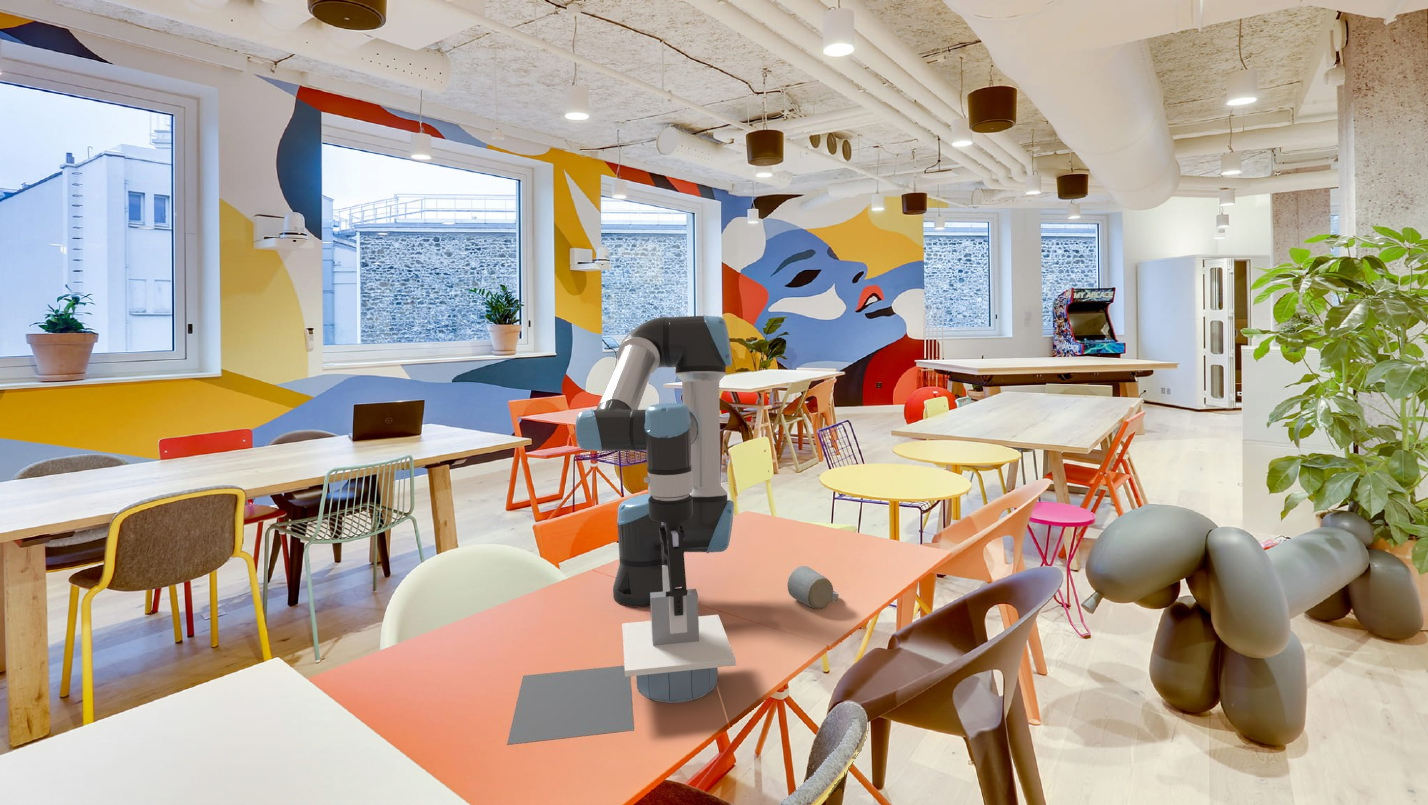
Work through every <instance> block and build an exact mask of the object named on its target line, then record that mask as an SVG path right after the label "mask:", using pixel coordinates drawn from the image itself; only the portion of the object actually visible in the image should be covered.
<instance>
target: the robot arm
mask: <svg viewBox="0 0 1428 805" xmlns="http://www.w3.org/2000/svg"><path fill="white" fill-rule="evenodd" d="M732 356H733V355H732V349H731V342H730V336H729V331H728V325H727V323H726V321H725V319H724V318H723V317H721V316H715V315H694V316H691V315H690V316H670V317H669V316H664V317H663V316H662V317H656V318H653V319H649V320H647V321H645V322H643V323H641V324H639V325H638V326H637V327H635V328H634V329H632V330H631V331H630V332H629V333H627V335H626V336H625V337H624V339H623V340H622V341H621V342H620V345H619V347H618V349H617V363H616V365H615V368H614V370H613V371H612V375H611V376H610V378H609V381H608V382H607V385H606V387H605V389H604V392H603V394H602V395H601V399H600V400H599V402H598V405H597V406H596V409H592V408H590V409H589V410H588V409H586V410H582V411H580V412H579V413H578V414H577V416H576V419H575V425H574V426H575V428H574V431H575V439H576V442H577V445H578V447H579V448H580V449H581V450H583V451H591V452H592V451H595V452H600V453H601V452H608V451H609V452H615V451H616V452H619V451H620V452H621V451H626V452H627V451H646V466H647V467H646V468H647V476H646V477H644V478H643V482H644V483H645V484H647V490H648V493H645V494H639V495H634V496H632V497H630V498H627V499H625V500H623V501H621V503H619V506H618V508H617V521H616V524H617V535H618V536H617V537H618V538H617V540H618V554H619V555H618V556H619V557H618V558H619V564H618V565H619V566H618V569H617V572H616V577H615V580H614V583H613V586H612V594H613V599H614V601H615V602H616V603H618V604H621V605H623V606H626V607H636V608H646V607H647V608H649V607H651V602H650V593H653V592H664V591H669V592H666V597H669V612H670V633H671V634H674V633H685V632H687V614H686V596H687V593H688V591H687V590H688V588H687V576H686V564H685V553H706V554H709V553H722V552H725V551H726V550H727V549H728V547H729V545H730V541H731V536H732V531H733V530H732V529H733V521H734V511H735V509H734V507H735V502H734V501H733V500H731V499H729V500H728V491H727V490H726V489H725V488H724V487H723V486H722V485H721V483H722V482H721V479H722V478H721V475H722V474H721V422H720V421H721V420H720V419H721V411H720V407H721V406H720V383H721V380H722V379H723V378H724V377H725V376H726V374H727V369H726V368H729V367H731V366H732V365H733V359H732ZM658 368H675V376H676V377H677V378H678V379H679V380H680V381H681V383H682V386H681V387H682V390H681V392H682V395H681V396H682V401H681V402H682V403H676V402H669V403H667V402H666V403H656V404H652V405H649V406H647V407H646V409H639V407H640V405H641V401H642V399H643V396H644V394H645V391H646V387H647V385H648V383H649V380H650V377H651V374H653V373H654V372H655V371H656V370H657V369H658Z"/></svg>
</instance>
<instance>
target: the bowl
mask: <svg viewBox="0 0 1428 805" xmlns="http://www.w3.org/2000/svg"><path fill="white" fill-rule="evenodd" d="M718 668H719V667H716V668H706V669H696V670H686V671H677V672H667V673H657V674H647V675H638V676H635V680H636V689H637V690H638V692H639V693H640V694H641V695H642V696H644V697H645V698H647V699H649V700H651V701H654V702H655V701H656V702H659V703H660V702H661V703H667V704H669V703H670V704H673V703H674V704H675V703H676V704H677V703H687V702H690V701H694V700H698V699H699V698H703V697H705V696H706V695H708V694H709V693H711V691H713V690H714V688H715V687H717V685H718V680H719V676H718V675H719V671H718Z"/></svg>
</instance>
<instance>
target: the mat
mask: <svg viewBox="0 0 1428 805" xmlns="http://www.w3.org/2000/svg"><path fill="white" fill-rule="evenodd" d="M631 680H632V679H631V676H628V677H625V667H624V665H615V666H606V667H605V666H604V667H596V668H594V667H593V668H584V669H576V670H575V669H574V670H566V671H556V672H546V673H536V674H526V675H525V674H524V675H522V679H521V683H520V687H519V691H518V696H517V701H516V704H515V709H514V712H513V716H512V722H511V725H510V731H509V734H508V735H509V736H508V739H507V743H506V746H508V745H517V744H526V743H535V742H543V741H553V740H562V739H569V738H570V739H571V738H579V737H588V736H597V735H605V734H614V733H622V732H631V731H632V732H633V731H635V724H634V723H635V722H634V710H633V696H632V683H631Z"/></svg>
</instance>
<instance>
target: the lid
mask: <svg viewBox="0 0 1428 805" xmlns="http://www.w3.org/2000/svg"><path fill="white" fill-rule="evenodd" d="M687 591H688V593H687V596H686V614H687V632H685V633H674V634H671V633H670V612H669V597H666V592H669V591H664V592H653V593H650V602H651V606H650V620H645V621H632V622H624V623H623V622H622V623H621V628H622V629H621V630H622V632H621V633H622V643H623V644H622V647H623V662H624V663H623V666H624V667H625V677H628V676H630V677H636V676H638V675H647V674H657V673H667V672H677V671H686V670H696V669H706V668H716V667H718V668H722V667H723V668H725V667H732V666H737V660H736V656H735V654H734V652H733V649H732V647H731V644H730V640H729V638H728V635H727V633H726V630H725V629H724V626H723V623H722V621H721V618H720V616H719V614H711V615H701V616H700V615H699V596H698V595H699V594H698V591H697V588H690V589H689V588H687Z"/></svg>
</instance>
